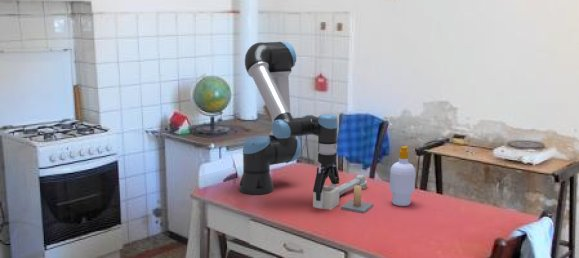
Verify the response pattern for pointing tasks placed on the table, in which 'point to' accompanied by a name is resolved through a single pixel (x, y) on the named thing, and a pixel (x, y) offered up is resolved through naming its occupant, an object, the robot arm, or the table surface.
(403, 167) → the soap bottle
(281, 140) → the robot arm
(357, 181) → the toothbrush head
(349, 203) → the peg on square base
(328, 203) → the nut
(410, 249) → the table surface
